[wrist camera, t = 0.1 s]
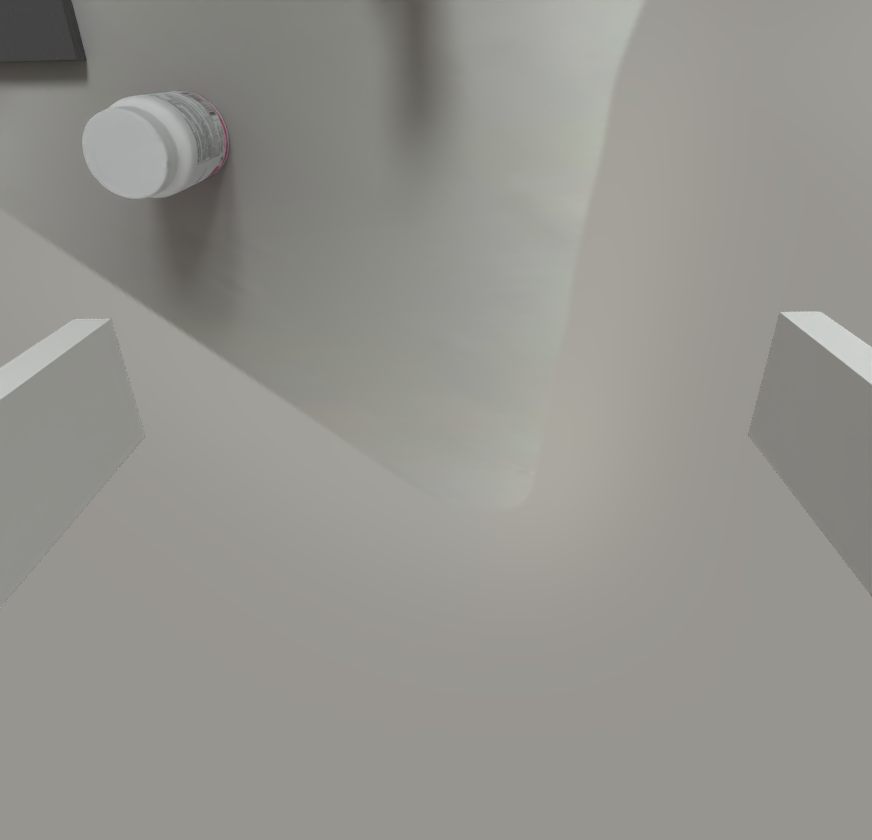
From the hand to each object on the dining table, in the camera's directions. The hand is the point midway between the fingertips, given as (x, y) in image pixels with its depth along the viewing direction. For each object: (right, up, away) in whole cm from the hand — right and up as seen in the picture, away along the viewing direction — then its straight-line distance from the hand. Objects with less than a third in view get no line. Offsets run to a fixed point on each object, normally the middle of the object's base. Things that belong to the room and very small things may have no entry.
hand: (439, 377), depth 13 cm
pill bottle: (-14, +16, +24) cm, 32 cm away
